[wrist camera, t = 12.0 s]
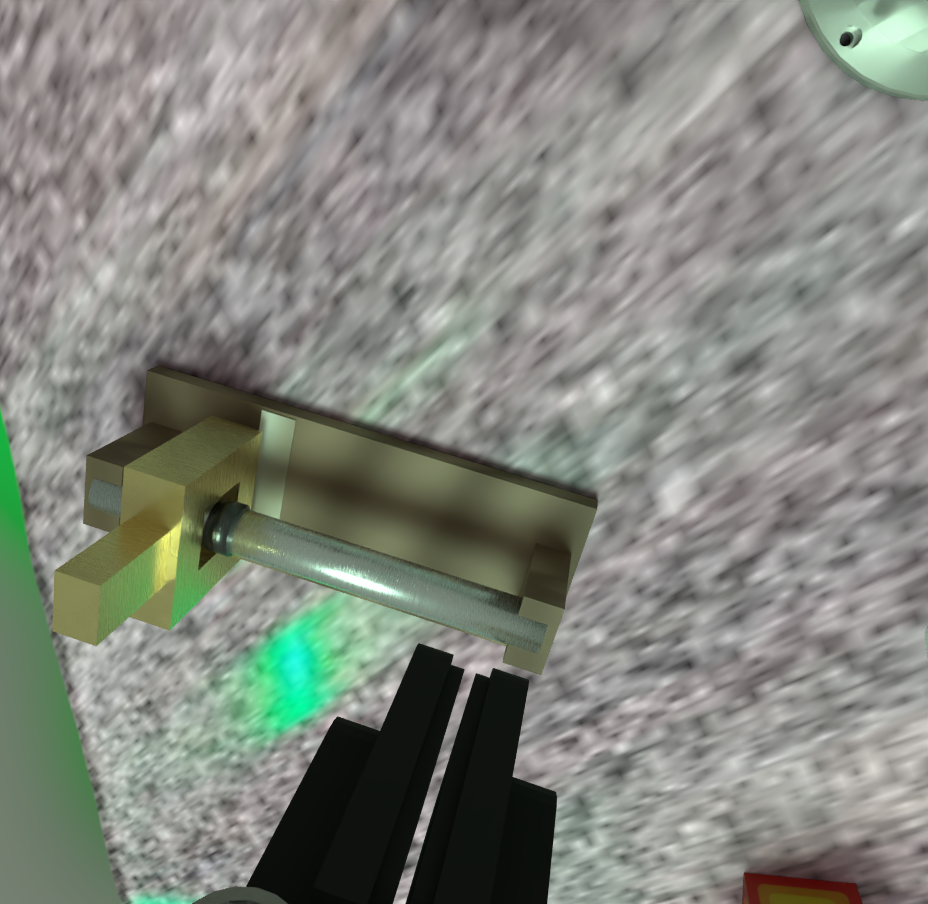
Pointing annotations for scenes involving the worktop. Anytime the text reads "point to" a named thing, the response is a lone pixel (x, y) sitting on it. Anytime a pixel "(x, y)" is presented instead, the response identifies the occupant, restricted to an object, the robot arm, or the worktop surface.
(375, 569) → the pipe
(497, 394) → the worktop surface
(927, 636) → the french press
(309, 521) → the pipe stand
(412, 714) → the robot arm
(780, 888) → the baking soda box
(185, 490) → the collar
